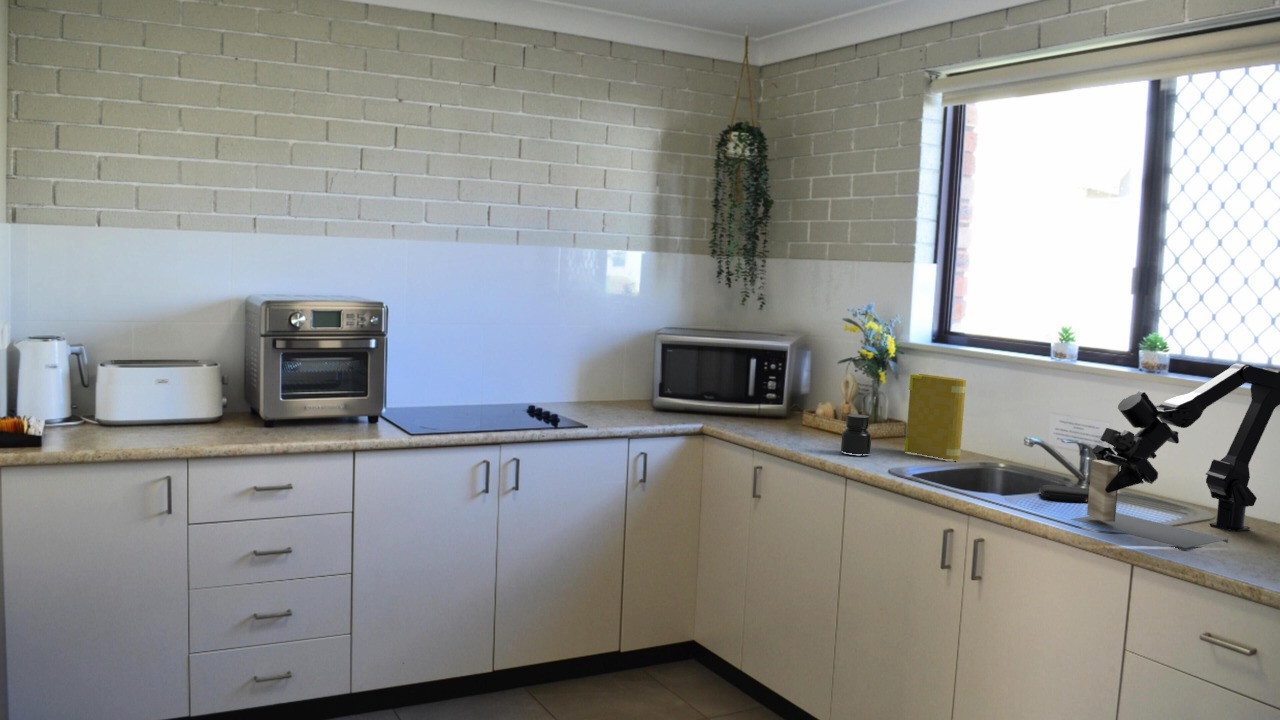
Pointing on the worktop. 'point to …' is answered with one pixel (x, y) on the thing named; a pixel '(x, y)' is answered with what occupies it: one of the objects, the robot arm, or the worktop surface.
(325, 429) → the worktop surface
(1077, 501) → the carrying case or bag
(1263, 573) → the worktop surface
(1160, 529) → the mat
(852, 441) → the ink bottle
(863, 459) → the worktop surface
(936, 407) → the book
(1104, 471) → the tan wooden block
